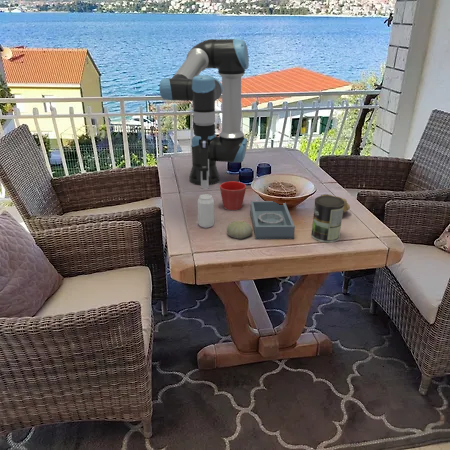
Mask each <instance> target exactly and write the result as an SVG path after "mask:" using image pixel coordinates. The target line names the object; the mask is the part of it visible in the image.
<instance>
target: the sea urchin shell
mask: <svg viewBox="0 0 450 450" xmlns="http://www.w3.org/2000/svg"><path fill="white" fill-rule="evenodd" d="M226 233H227V235H228V236H229V237H231V238H234V239H237V240H238V239H239V240H241V239H245V238H248V237H250V236H251V235H252V233H253V226H251V224H250V223H248V222H246V221H244V220H236V221H232V222H231V223H229V224H228V225H227V227H226Z"/></svg>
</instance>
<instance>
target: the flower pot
mask: <svg viewBox="0 0 450 450" xmlns="http://www.w3.org/2000/svg"><path fill="white" fill-rule="evenodd" d="M219 189H220V190H219V191H220V194H221V196H220V197H221V200H222V205H223V208H224V209H226V210H228V211H237V210H240V209H242V206H243V204H244V199H245V194H246V190H247V185H246V184H245V183H243V182H240V181H233V180H231V181H230V180H229V181H225V182H222V183H221V184H220V185H219Z"/></svg>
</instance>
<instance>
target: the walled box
mask: <svg viewBox="0 0 450 450" xmlns="http://www.w3.org/2000/svg"><path fill="white" fill-rule="evenodd" d="M273 201H274V200H261V201H260V200H259V201H258V200H257V201H255V200H253V201H252V200H250V207H249V209H250V210H249V211H250V212H249V213H250V218H251V223H252V231H253V233H254V239H255V240H294V239H295V231H296V230H295V228H296V226H295V224H294V220H293V218H292V216H291V213H290V211H289V209H288V206H287V203H286V202H285V203H283V205H279V204H277V203H276V202H273ZM263 213H276V214H280V215H281V216H282V217H284V222H283V225H280V226H261V225H260V224H259V223H258V217H259V215H260V214H263ZM263 220H264V221H267V222H277V221H279V220H277V219H273V218H266V219H263Z"/></svg>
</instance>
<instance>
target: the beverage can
mask: <svg viewBox="0 0 450 450" xmlns="http://www.w3.org/2000/svg"><path fill="white" fill-rule="evenodd" d="M197 223H198V226H200V227H202V228H206V229H208V228H211V227H213V226H214V225H215V199H214V198H213V195H211V194H210V193H209V194H207V193H206V194H205V193H203V194H200V195H199V196H198V199H197Z"/></svg>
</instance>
